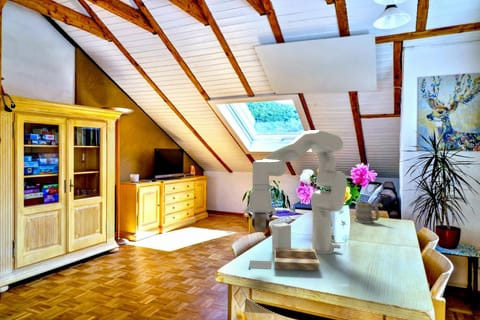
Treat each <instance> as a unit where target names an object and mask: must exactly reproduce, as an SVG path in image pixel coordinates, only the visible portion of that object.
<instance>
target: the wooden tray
mask: <svg viewBox="0 0 480 320" xmlns="http://www.w3.org/2000/svg"><path fill="white" fill-rule="evenodd" d="M273 254H274V255H273V256H274V257H273V258H274V260H273V263H274V264H273V265H274V267H273V268H274V269H275V270H277V269H279V270H299V271H319V270H320V269H319V265H321V261H320V260H319V257H318V255H317V254H318V253H316V252H315V250H314V249H309V248H298V247H297V248H296V247H295V248H293V247H291V248H274V252H273Z"/></svg>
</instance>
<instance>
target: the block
mask: <svg viewBox="0 0 480 320" xmlns="http://www.w3.org/2000/svg"><path fill="white" fill-rule="evenodd" d="M254 217H255V228H254V233H267V229H266V218H267V217H266V213H255V216H254Z"/></svg>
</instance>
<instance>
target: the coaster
mask: <svg viewBox="0 0 480 320" xmlns="http://www.w3.org/2000/svg"><path fill="white" fill-rule="evenodd" d="M251 269H255V270H257V269H259V270H272V260H251V259H249V265H248V270H251Z"/></svg>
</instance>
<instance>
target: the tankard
mask: <svg viewBox="0 0 480 320" xmlns="http://www.w3.org/2000/svg"><path fill="white" fill-rule="evenodd" d="M355 203H356V204H355V206H354V209H355V212H354V215H355V217H354V218H353V221H354V222H355V223H359V224H360V223H361V224H372V223H375V222H374V221H376V222H377V221H379V219H380V212H379V207H380V208H382V207H383V206H384V205H383V204H382V203H380V202H379V203H376V204H372V203H371V202H370V201H356V202H355ZM373 208H374V213H375V217H373V214H374V213H372V211H373Z"/></svg>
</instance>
